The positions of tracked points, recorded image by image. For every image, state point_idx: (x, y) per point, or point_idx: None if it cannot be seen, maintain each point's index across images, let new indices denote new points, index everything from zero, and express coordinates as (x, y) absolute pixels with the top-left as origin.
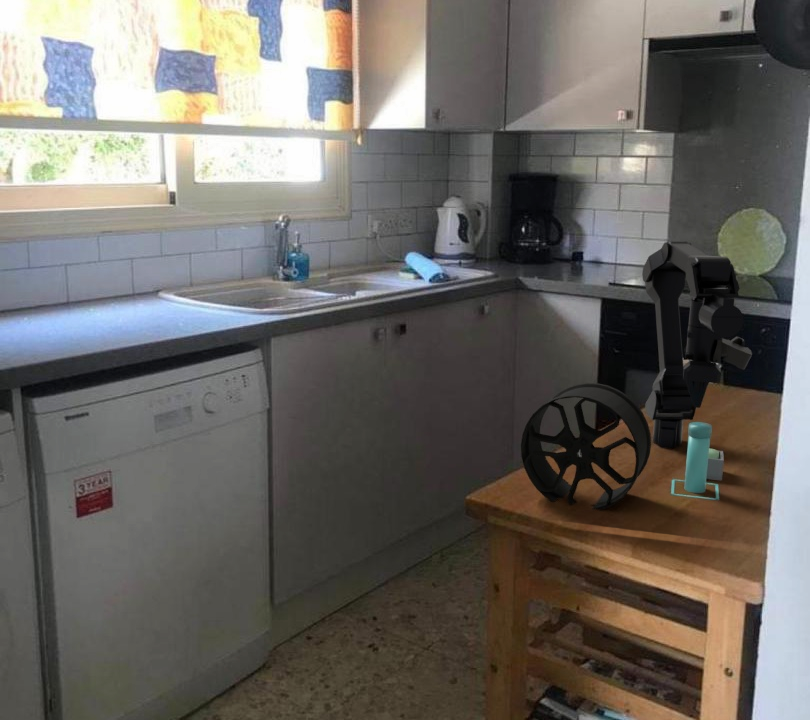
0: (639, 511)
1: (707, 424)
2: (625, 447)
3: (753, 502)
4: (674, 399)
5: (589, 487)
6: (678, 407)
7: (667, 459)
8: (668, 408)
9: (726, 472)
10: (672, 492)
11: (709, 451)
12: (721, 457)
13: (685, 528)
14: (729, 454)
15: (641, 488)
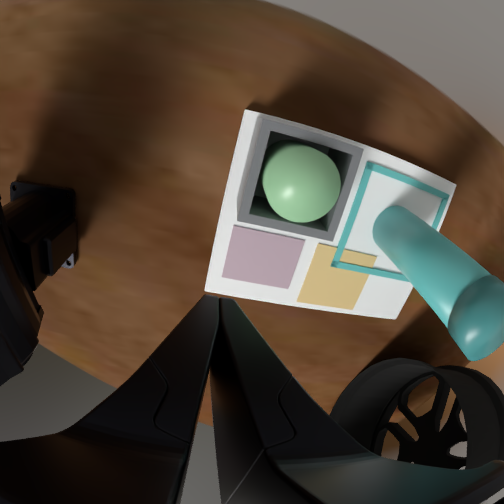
0: (434, 325)
1: (500, 308)
2: (83, 311)
3: (432, 108)
4: (6, 315)
5: (331, 384)
6: (14, 278)
7: (137, 236)
8: (30, 308)
9: (225, 92)
10: (404, 278)
11: (307, 182)
12: (335, 146)
13: (492, 271)
14: (70, 65)
15: (346, 318)
